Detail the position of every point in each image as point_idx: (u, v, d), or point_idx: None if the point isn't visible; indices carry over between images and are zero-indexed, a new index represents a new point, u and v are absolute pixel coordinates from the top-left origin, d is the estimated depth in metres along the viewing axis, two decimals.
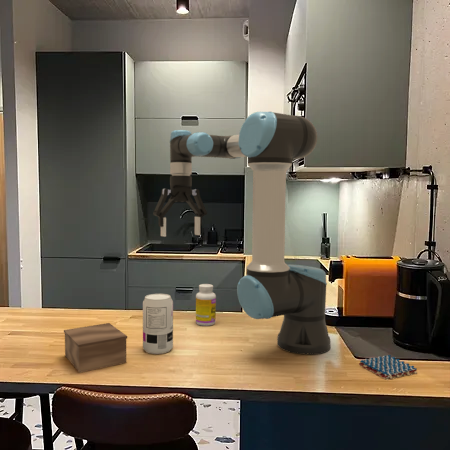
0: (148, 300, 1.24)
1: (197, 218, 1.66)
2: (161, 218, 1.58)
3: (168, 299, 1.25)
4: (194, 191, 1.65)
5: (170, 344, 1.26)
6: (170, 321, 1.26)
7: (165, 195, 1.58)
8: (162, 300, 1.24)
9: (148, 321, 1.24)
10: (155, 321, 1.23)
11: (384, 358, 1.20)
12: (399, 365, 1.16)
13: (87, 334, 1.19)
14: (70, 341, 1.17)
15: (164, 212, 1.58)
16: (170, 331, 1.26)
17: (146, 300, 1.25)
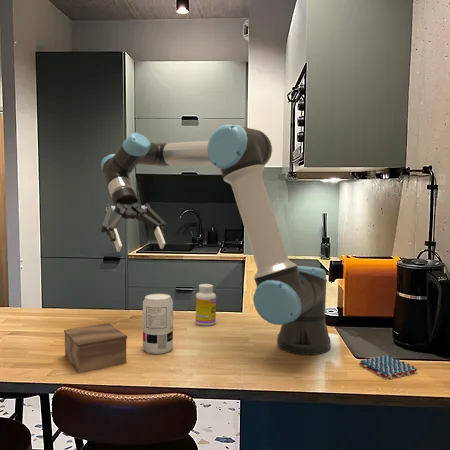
0: (148, 300, 1.24)
1: (156, 229, 1.41)
2: (111, 230, 1.33)
3: (168, 299, 1.25)
4: (143, 206, 1.46)
5: (170, 344, 1.26)
6: (170, 321, 1.26)
7: (109, 209, 1.38)
8: (162, 300, 1.24)
9: (148, 321, 1.24)
10: (155, 321, 1.23)
11: (384, 358, 1.20)
12: (399, 365, 1.16)
13: (87, 334, 1.19)
14: (70, 341, 1.17)
15: (112, 224, 1.35)
16: (170, 331, 1.26)
17: (146, 300, 1.25)
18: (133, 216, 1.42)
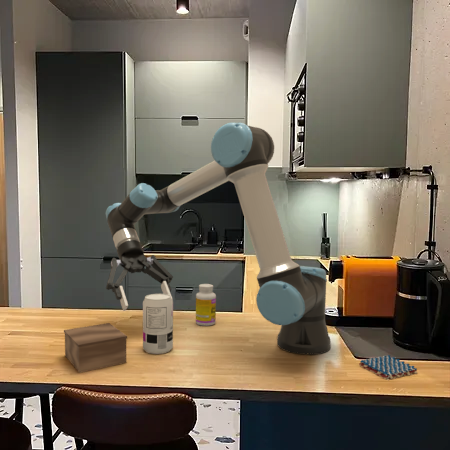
0: (148, 300, 1.24)
1: (163, 283, 1.37)
2: (116, 288, 1.29)
3: (168, 299, 1.25)
4: (149, 258, 1.42)
5: (170, 344, 1.26)
6: (170, 321, 1.26)
7: (114, 264, 1.34)
8: (162, 300, 1.24)
9: (148, 321, 1.24)
10: (155, 321, 1.23)
11: (384, 358, 1.20)
12: (399, 365, 1.16)
13: (87, 334, 1.19)
14: (70, 341, 1.17)
15: (118, 281, 1.31)
16: (170, 331, 1.26)
17: (146, 300, 1.25)
18: (139, 270, 1.38)
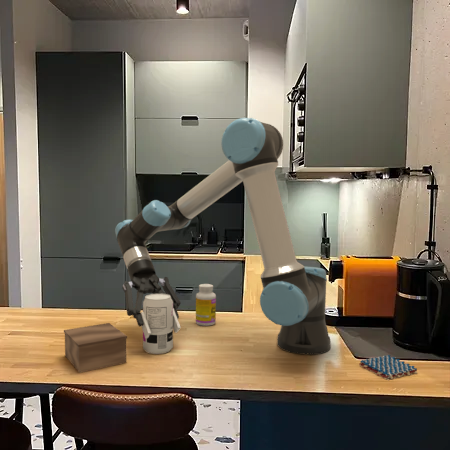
0: (148, 300, 1.24)
1: None
2: (138, 314, 1.25)
3: (168, 299, 1.25)
4: (162, 279, 1.36)
5: (170, 344, 1.26)
6: (170, 321, 1.26)
7: (128, 287, 1.28)
8: (162, 300, 1.24)
9: (148, 321, 1.24)
10: (155, 321, 1.23)
11: (384, 358, 1.20)
12: (399, 365, 1.16)
13: (87, 334, 1.19)
14: (70, 341, 1.17)
15: (138, 306, 1.26)
16: (170, 331, 1.26)
17: (146, 300, 1.25)
18: (151, 290, 1.32)
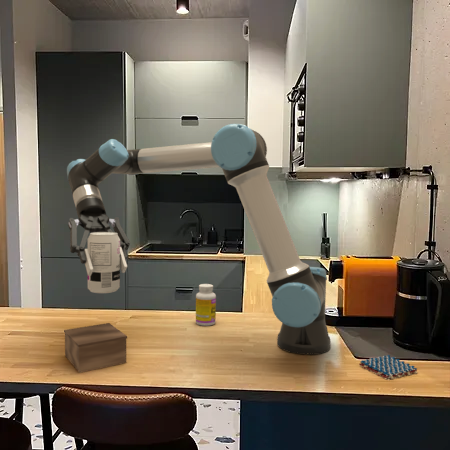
0: (92, 236, 1.17)
1: None
2: (81, 251, 1.17)
3: (114, 235, 1.18)
4: (113, 220, 1.29)
5: (116, 284, 1.19)
6: (116, 259, 1.19)
7: (73, 224, 1.21)
8: (107, 236, 1.17)
9: (92, 258, 1.17)
10: (99, 258, 1.16)
11: (384, 358, 1.20)
12: (399, 365, 1.16)
13: (87, 334, 1.19)
14: (70, 341, 1.17)
15: (82, 243, 1.19)
16: (116, 270, 1.19)
17: (90, 236, 1.17)
18: (99, 230, 1.25)
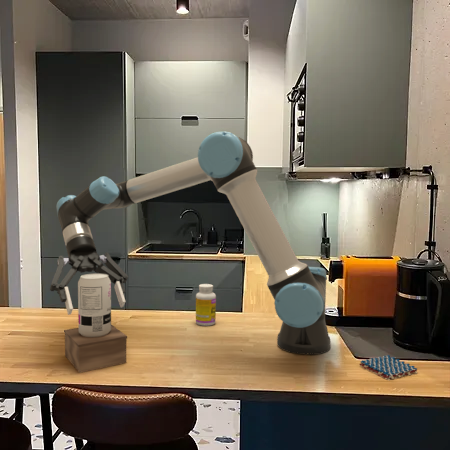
0: (82, 279, 1.16)
1: (116, 284, 1.24)
2: (61, 289, 1.16)
3: (104, 278, 1.17)
4: (103, 256, 1.28)
5: (107, 327, 1.18)
6: (107, 302, 1.18)
7: (61, 262, 1.20)
8: (97, 279, 1.16)
9: (82, 302, 1.16)
10: (90, 302, 1.15)
11: (384, 358, 1.20)
12: (399, 365, 1.16)
13: None
14: (70, 341, 1.17)
15: (64, 281, 1.17)
16: (107, 313, 1.18)
17: (80, 279, 1.16)
18: (90, 269, 1.24)
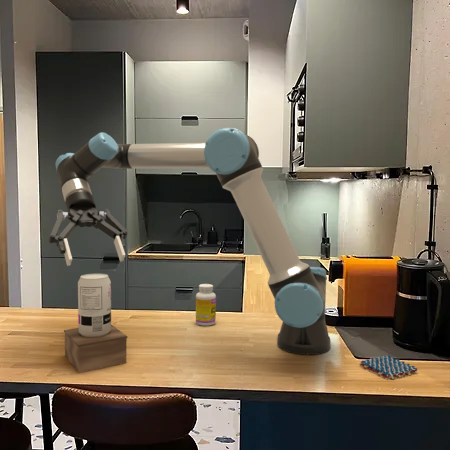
0: (82, 279, 1.16)
1: (116, 239, 1.22)
2: (60, 241, 1.15)
3: (104, 278, 1.17)
4: (102, 212, 1.27)
5: (107, 327, 1.18)
6: (107, 302, 1.18)
7: (60, 216, 1.19)
8: (97, 279, 1.16)
9: (82, 302, 1.16)
10: (90, 302, 1.15)
11: (384, 358, 1.20)
12: None
13: None
14: (70, 341, 1.17)
15: (63, 233, 1.16)
16: (107, 313, 1.18)
17: (80, 279, 1.16)
18: (89, 224, 1.23)
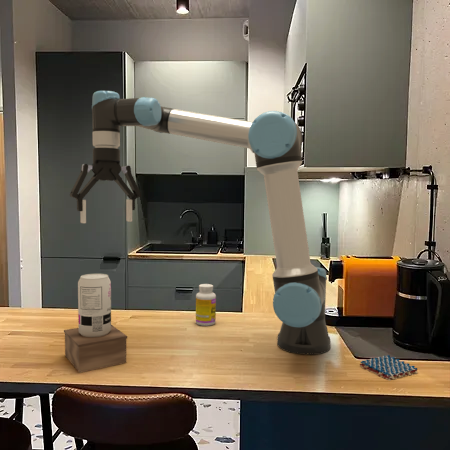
0: (82, 279, 1.16)
1: (128, 201, 1.35)
2: (79, 200, 1.27)
3: (104, 278, 1.17)
4: (124, 168, 1.34)
5: (107, 327, 1.18)
6: (107, 302, 1.18)
7: (84, 172, 1.27)
8: (97, 279, 1.16)
9: (82, 302, 1.16)
10: (90, 302, 1.15)
11: (384, 358, 1.20)
12: None
13: None
14: (70, 341, 1.17)
15: (83, 193, 1.27)
16: (107, 313, 1.18)
17: (80, 279, 1.16)
18: (109, 180, 1.32)
